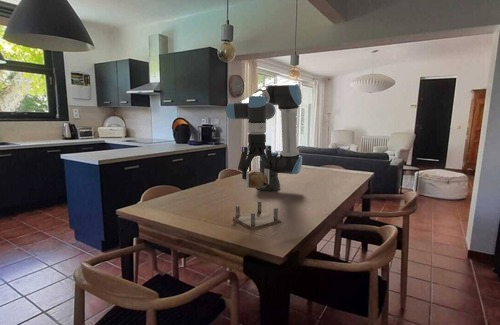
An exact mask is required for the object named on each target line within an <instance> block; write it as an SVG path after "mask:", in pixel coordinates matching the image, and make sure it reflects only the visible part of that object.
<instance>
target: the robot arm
mask: <svg viewBox="0 0 500 325" xmlns="http://www.w3.org/2000/svg"><path fill="white" fill-rule="evenodd" d="M302 96H303V95H302V90H301V87H300V85H299V84H298V83H290V82H289V83H276V84H275V83H274V84H268V85H266V86H262V87H260V88H258V89H257V90H255V92H254V93H252V94H251V95H249V96H247V97H246V98H244V99H242V100H240V101H238V102H229V103H228V104H227V105H226V108H225V113H226V117H227V118H228V119H229V120H247V132H248V135H247V143H248V145H247V146H242V147H241V155H240V160H239V161H238V162H239V163H238V165H237V166H238V167H237V170H238V171H240V172H241V178H242V180H243V187H245V188H249V174H250V173H249V171H248V170H249V168H250V165H251V163H252V161H253V159H254V158H255V157H257V156H259V172H260V173H261V172H262V173H263V174H264V175H266V177H267V178H268V185H267V186H266V187H264V188H256V189H257V190H260V191H263V192H264V191H265V192H274V191H279V190H280V189H281V184H280V179H279V176H278V174H284V175H285V174H287V175H298V174H300V172H301V169H302V166H303V165H302V164H303V155H300V151H299V150H298V148H297V147H298V146H297V141H298V140H297V138H298V137H297V110H298V109H299V108H300V107H299V106H300V105H301V104H302V98H303V97H302ZM275 106H277V107H278V108H277V109H278V110H279V111H280V118H281V120H280V121H281V123H280V124H281V143H282V144H281V145H282V146H281V147H282V150H281V151H280V153H279V152H278V151H272V146H271V145H269V144H267V145H266V142H267V134H266V132H267V120H270V119H272V118H274V117H275V115H276V110H277V109H276V107H275Z"/></svg>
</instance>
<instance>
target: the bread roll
mask: <svg viewBox="0 0 500 325" xmlns="http://www.w3.org/2000/svg"><path fill="white" fill-rule="evenodd" d="M267 185H268V178H267V177H266V175H264V174H263V173H262V172H261V173H260V171H252V172H250V173H249V187H248V188H249V189H251V188H252V189H257V188H264V187H266V186H267Z"/></svg>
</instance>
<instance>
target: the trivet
mask: <svg viewBox="0 0 500 325" xmlns="http://www.w3.org/2000/svg"><path fill="white" fill-rule="evenodd" d="M262 202H263V201H260V200H258V201H257V211H256V210H255V211H253V212H248V213H243V214H240V213H241V212H240V211H241V206H240V205H235V215H234V216H233V217H232V219H233V220H234V221H235V222H237V223H239V224H241V225H242V226H244V227H246V228H248V229H249V230H251V231H255V230H259V229H261V228H267V227H269V226H273V225H276V224H280V223H281V219H279V208H278V207H274V208H273V215H270V214H268V213H266V212H265V211H262Z"/></svg>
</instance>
